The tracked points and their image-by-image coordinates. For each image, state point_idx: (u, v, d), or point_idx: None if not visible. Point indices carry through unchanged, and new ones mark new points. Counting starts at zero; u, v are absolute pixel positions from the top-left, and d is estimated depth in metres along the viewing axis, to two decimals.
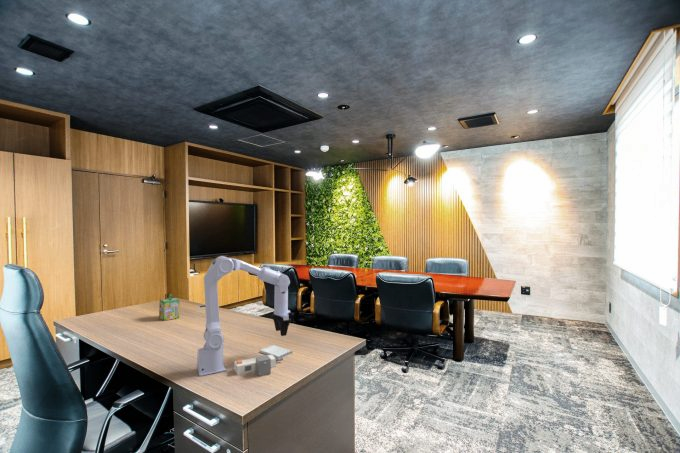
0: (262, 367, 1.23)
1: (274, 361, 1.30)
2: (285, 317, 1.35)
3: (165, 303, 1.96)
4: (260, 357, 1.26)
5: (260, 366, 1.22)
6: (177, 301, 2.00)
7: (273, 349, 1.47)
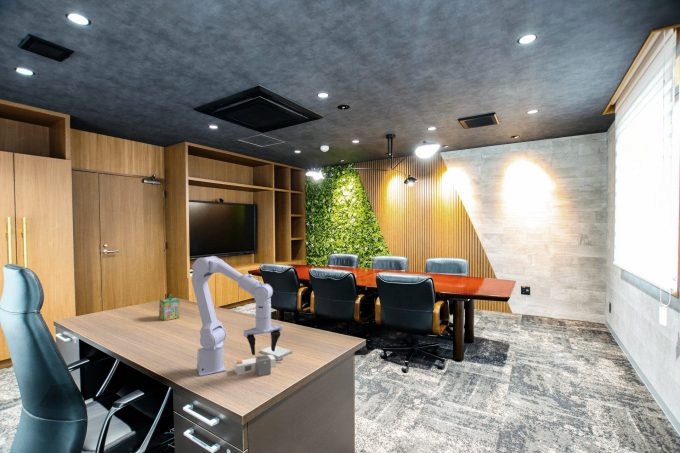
0: (262, 367, 1.23)
1: (274, 361, 1.30)
2: None
3: (165, 303, 1.96)
4: (260, 357, 1.26)
5: (260, 366, 1.22)
6: (177, 301, 2.00)
7: None
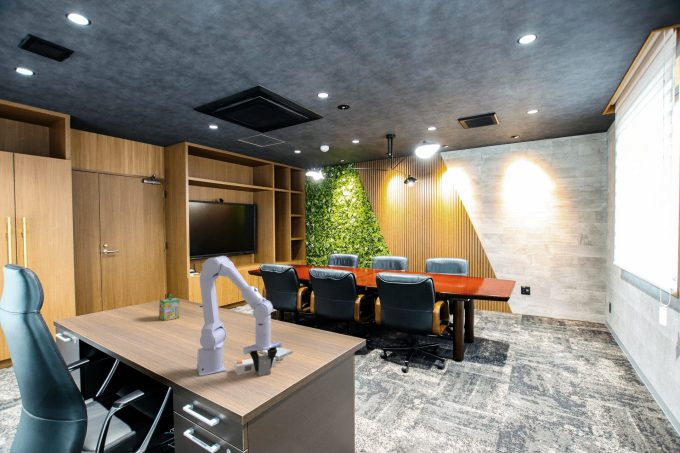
0: (262, 367, 1.23)
1: (274, 361, 1.30)
2: (243, 350, 1.22)
3: (165, 303, 1.96)
4: (260, 357, 1.26)
5: (260, 366, 1.22)
6: (177, 301, 2.00)
7: None
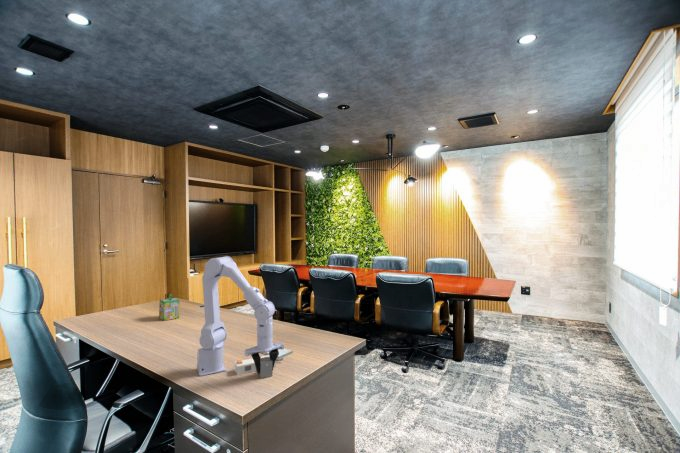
0: (264, 369, 1.21)
1: None
2: (245, 351, 1.20)
3: (165, 303, 1.96)
4: (262, 359, 1.24)
5: (262, 368, 1.20)
6: (177, 301, 2.00)
7: None
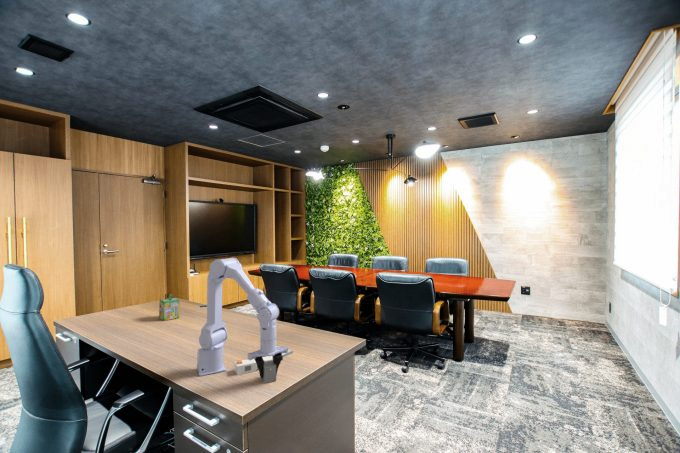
0: (267, 373, 1.17)
1: None
2: (248, 355, 1.16)
3: (165, 303, 1.96)
4: (265, 363, 1.20)
5: (265, 373, 1.17)
6: (177, 301, 2.00)
7: None
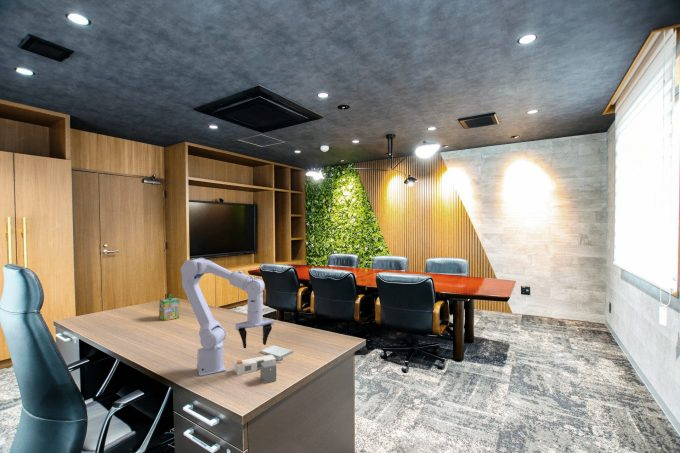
0: (267, 373, 1.17)
1: (274, 361, 1.30)
2: (235, 326, 1.24)
3: (165, 303, 1.96)
4: (265, 363, 1.20)
5: (265, 373, 1.17)
6: (177, 301, 2.00)
7: (273, 349, 1.47)
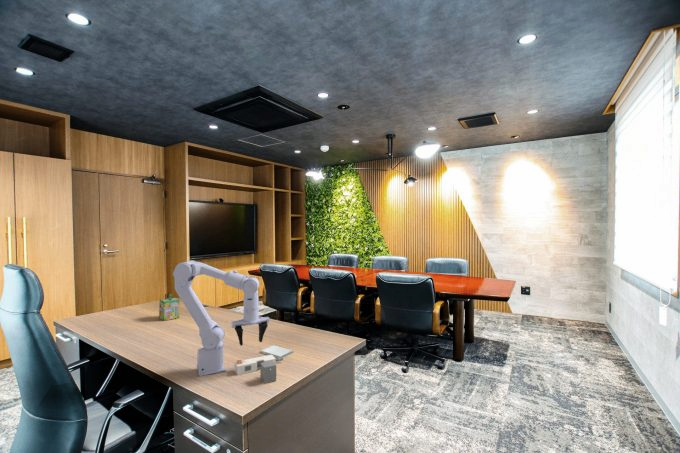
0: (267, 373, 1.17)
1: (274, 361, 1.30)
2: None
3: (165, 303, 1.96)
4: (265, 363, 1.20)
5: (265, 373, 1.17)
6: (177, 301, 2.00)
7: (274, 349, 1.47)
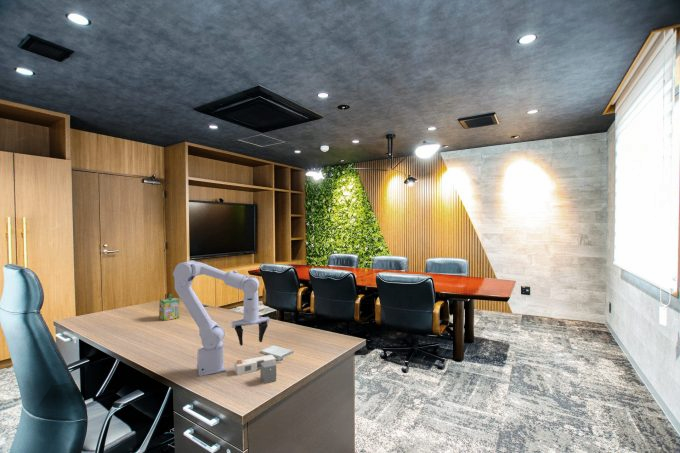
0: (267, 373, 1.17)
1: (274, 361, 1.30)
2: None
3: (165, 303, 1.96)
4: (265, 363, 1.20)
5: (265, 373, 1.17)
6: (177, 301, 2.00)
7: (274, 349, 1.47)
